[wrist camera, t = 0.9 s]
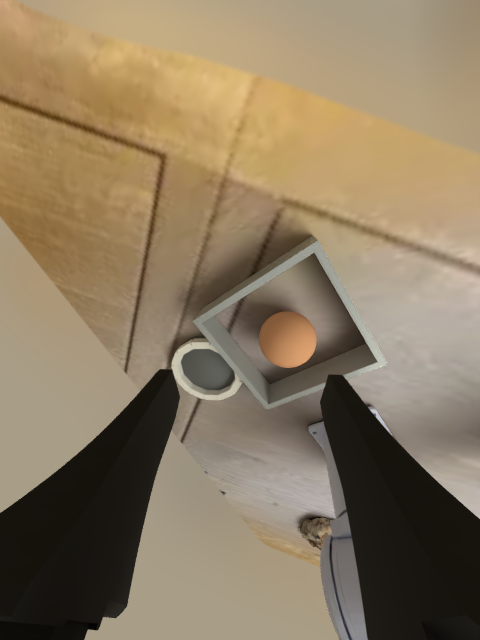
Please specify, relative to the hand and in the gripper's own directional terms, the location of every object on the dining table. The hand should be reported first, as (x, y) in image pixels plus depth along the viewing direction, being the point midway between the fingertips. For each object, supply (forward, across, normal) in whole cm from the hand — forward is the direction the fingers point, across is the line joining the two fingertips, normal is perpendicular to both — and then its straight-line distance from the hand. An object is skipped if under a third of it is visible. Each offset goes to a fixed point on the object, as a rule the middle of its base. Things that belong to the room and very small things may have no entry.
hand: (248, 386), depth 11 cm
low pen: (+11, -3, +5) cm, 13 cm away
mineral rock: (+5, -13, +43) cm, 45 cm away
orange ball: (+9, -3, +4) cm, 10 cm away
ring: (+11, +5, +11) cm, 16 cm away
